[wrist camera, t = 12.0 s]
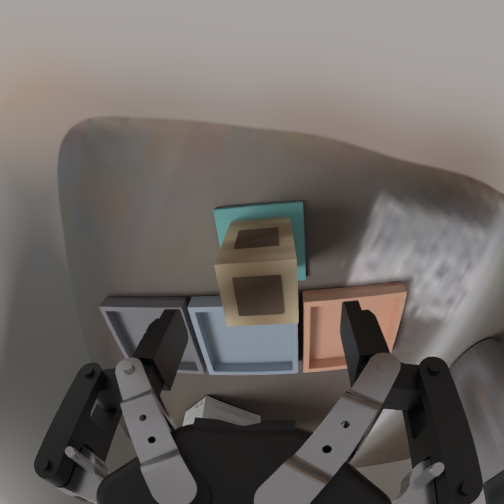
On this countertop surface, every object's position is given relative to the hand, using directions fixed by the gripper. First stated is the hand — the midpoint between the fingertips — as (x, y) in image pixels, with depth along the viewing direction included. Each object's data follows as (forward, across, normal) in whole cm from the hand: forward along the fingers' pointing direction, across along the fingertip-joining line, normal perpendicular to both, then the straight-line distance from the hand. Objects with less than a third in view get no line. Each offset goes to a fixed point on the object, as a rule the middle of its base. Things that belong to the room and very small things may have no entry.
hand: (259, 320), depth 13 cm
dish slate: (+8, +2, +8) cm, 11 cm away
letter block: (+7, 0, -1) cm, 7 cm away
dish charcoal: (+8, +11, +8) cm, 16 cm away
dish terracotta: (+8, -7, +8) cm, 13 cm away
